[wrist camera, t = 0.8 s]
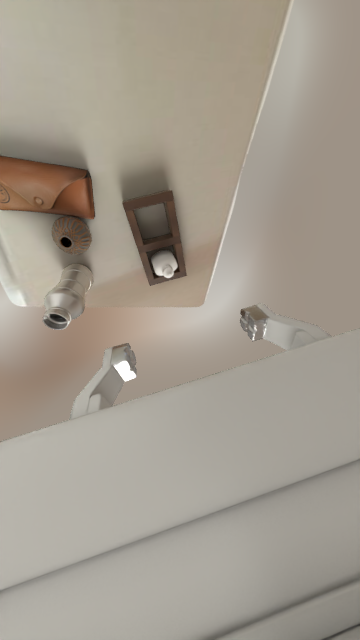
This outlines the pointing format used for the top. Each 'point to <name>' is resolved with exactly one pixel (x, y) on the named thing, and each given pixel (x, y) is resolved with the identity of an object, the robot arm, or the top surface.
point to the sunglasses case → (45, 188)
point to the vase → (71, 235)
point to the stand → (161, 240)
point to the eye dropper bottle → (164, 263)
